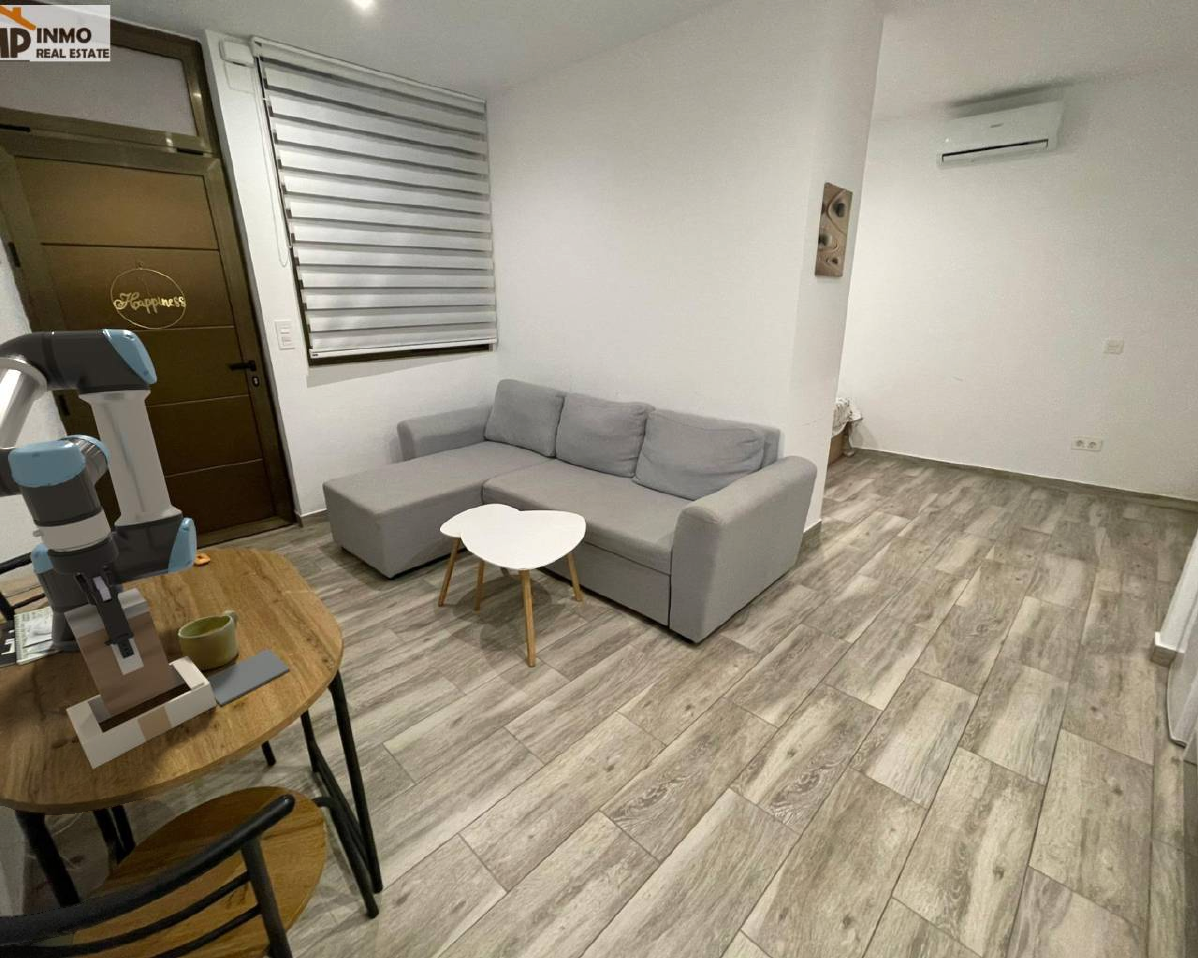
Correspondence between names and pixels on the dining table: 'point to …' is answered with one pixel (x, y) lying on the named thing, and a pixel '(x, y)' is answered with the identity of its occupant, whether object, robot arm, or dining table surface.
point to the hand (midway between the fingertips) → (127, 660)
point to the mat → (246, 676)
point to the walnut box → (103, 663)
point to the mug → (210, 640)
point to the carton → (140, 716)
